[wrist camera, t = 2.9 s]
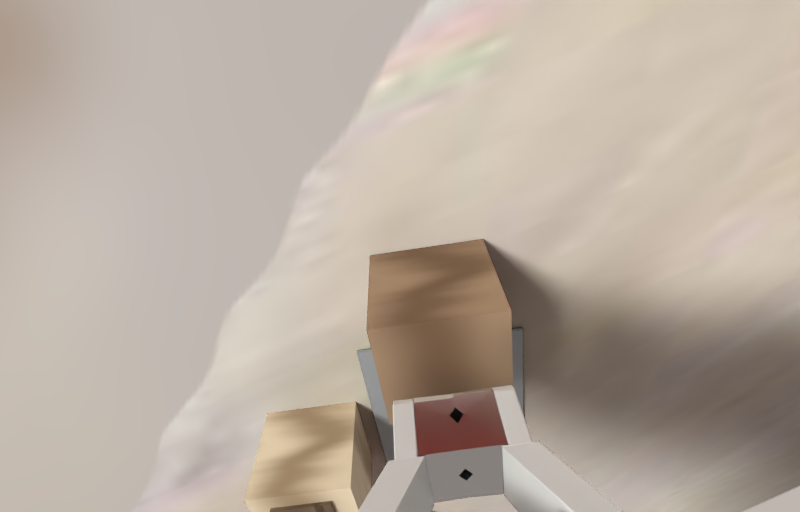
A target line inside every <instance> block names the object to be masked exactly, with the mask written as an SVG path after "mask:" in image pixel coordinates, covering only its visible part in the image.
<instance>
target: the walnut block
mask: <svg viewBox="0 0 800 512" xmlns="http://www.w3.org/2000/svg"><path fill="white" fill-rule="evenodd" d="M367 334H368V338H369V343H370V347H371V351H372V355H373V359H374V363H375V367H376V371H377V375H378V379H379V383H380V387H381V391H382V395H383V399H384V403H385V407H386V411H387V415H388V419H389V423H390V424H393V401H396V400H404V399H412V398H413V399H414V398H420V397H429V396H438V395H447V394H452V393H457V392H464V391H471V390H477V389H484V388H493V387H500V386H508V385H512V386H513V357H512V316H511V308H510V306H509V303H508V301H507V298H506V296H505V293H504V291H503V288H502V286H501V283H500V281H499V278H498V276H497V273H496V271H495V268H494V266H493V263H492V261H491V258H490V256H489V253H488V250H487V248H486V245H485V243H484V240H483V239H480V240H473V241H467V242H460V243H453V244H446V245H439V246H432V247H426V248H419V249H412V250H405V251H398V252H391V253H385V254H378V255H371V256H370V266H369V288H368V310H367Z"/></svg>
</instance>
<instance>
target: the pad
mask: <svg viewBox="0 0 800 512" xmlns="http://www.w3.org/2000/svg"><path fill="white" fill-rule="evenodd" d="M357 355H358V358H359V362H360V366H361V369H362V373H363V377H364V380H365V384H366V388H367V392H368V395H369V399H370V403H371V406H372V410H373V414H374V417H375V421H376V425H377V428H378V432H379V436H380V439H381V443H382V447H383V451H384V454H385V458H386V462H388V461H390V460H394V435H393V424H390V423H389V419H388V415H387V411H386V407H385V403H384V399H383V395H382V391H381V387H380V383H379V379H378V375H377V371H376V367H375V363H374V359H373V355H372V351H371V349H364V350H357ZM512 357H513V387H514V389H515V392H516V395H517V398H518V401H519V403H520V406H521V409H522V412H523V329H522V328H517V329H512Z"/></svg>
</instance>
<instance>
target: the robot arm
mask: <svg viewBox="0 0 800 512" xmlns="http://www.w3.org/2000/svg"><path fill="white" fill-rule="evenodd" d="M393 435H394V460H390V461H388V462H387V464H386V466H385V467H384V469H383V471H382V472H381V474H380V476H379V477H378V479H377V480H376V482H375V484H374V485H373V487H372V489H371V490H370V492H369V494H368V495H367V497H366V499H365V500H364V502H363V504H362V505H361V507H360V509H359V510H358V512H432V509H433V507H434V503H436V502H442V501H448V500H455V499H461V498H468V496H469V497H478V496H488V495H498V494H504V496H505V497H506V498H507V499H508V501H509V502H510V503H511V504H512V505H513V506H514V508H515V509H516V510H517V511H518V512H623V511H622V510H621V509H619V508H618V507H617V506H616V505H615V504H613V503H612V502H611V501H610V500H609V499H607V498H606V497H605V496H604V495H603V494H601V493H600V492H599V491H598V490H597V489H596V488H594V487H593V486H592V485H591V484H590V483H588V482H587V481H586V480H585V479H584V478H582V477H581V476H580V475H579V474H578V473H576V472H575V471H574V470H573V469H572V468H570V467H569V466H568V465H567V464H566V463H564V462H563V461H562V460H561V459H560V458H559V457H557V456H556V455H555V454H554V453H553V452H551V451H550V450H549V449H548V448H547V447H545V446H544V445H543V444H542V443H541V442H539V441H535V442H533V441H532V438H531V435H530V432H529V430H528V427H527V424H526V421H525V418H524V415H523V412H522V409H521V406H520V403H519V401H518V398H517V395H516V392H515V389H514V387H513V386H512V385H508V386H500V387H493V388H484V389H477V390H471V391H464V392H457V393H452V394H447V395H438V396H429V397H420V398H414V399H413V398H412V399H404V400H396V401H393Z"/></svg>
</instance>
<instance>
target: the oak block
mask: <svg viewBox="0 0 800 512" xmlns="http://www.w3.org/2000/svg"><path fill="white" fill-rule="evenodd" d="M371 488H372V455H371V452H370V448H369V445H368V441H367V438H366V435H365V431H364V428H363V425H362V421H361V418H360V414H359V411H358V408H357V404H356V402H350V403H343V404H335V405H327V406H320V407H312V408H305V409H297V410H290V411H282V412H274V413H267V417H266V421H265V424H264V428H263V432H262V436H261V439H260V443H259V447H258V451H257V454H256V458H255V462H254V466H253V469H252V473H251V477H250V481H249V484H248V488H247V492H246V496H245V499H244V502H245V503H246V505H247V507H248V508H249V510H250V512H358V510H359V509H360V507H361V505H362V504H363V502H364V500H365V499H366V497H367V495H368V494H369V492H370V490H371Z"/></svg>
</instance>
